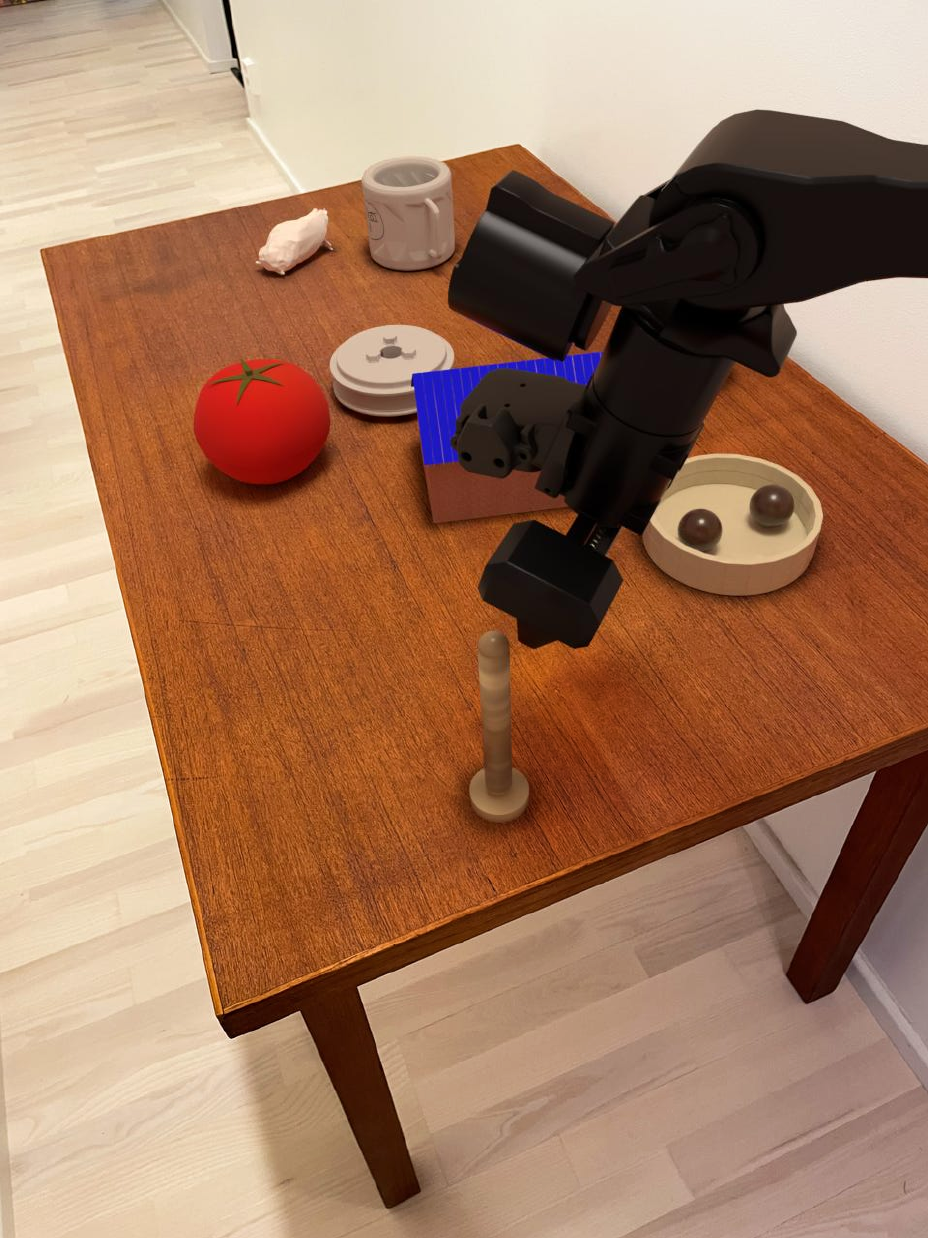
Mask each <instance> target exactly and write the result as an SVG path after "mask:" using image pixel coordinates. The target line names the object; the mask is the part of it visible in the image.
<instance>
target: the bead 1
mask: <svg viewBox="0 0 928 1238" xmlns="http://www.w3.org/2000/svg"><path fill="white" fill-rule="evenodd" d="M722 532H723V529H722V523H721V521H720V519H719V518H718V516H717V515H716V514H715V513H713V512H712V511H710V510H707V509H694V510H691V511H689V512H688V513H686V514H685V515H684V516H683V517H682V518H681V520H680V522H679V524H678V530H677V533H678V538H679V540H680V542H681V543H683V544H684V545H686V546H688V547H691V548H693V549H695V550H698V551H700V552H707V551H709V550H711V549H713V548H714V547H715V546H716V545H717V544H718V543H719V541H720V539H721V537H722Z"/></svg>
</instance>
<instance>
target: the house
mask: <svg viewBox="0 0 928 1238" xmlns="http://www.w3.org/2000/svg"><path fill="white" fill-rule="evenodd" d="M602 353H603V351H596V352H587V353H579V354H571V355H567V356H566V358H565V360H564V361H563V362H561V361H559V360H555V361H553V360H551V359H549V358H547V357H544V358H536V359H535V358H534V359H528V360H527V359H526V360H519V361H510V362H502V363H501V362H500V363H494V364H484V365H474V366H467V367H458V368H453V369H448V370H439V371H431V372H422V373H413V374H412V380H411V387H414V391H415V398H416V407H417V412H416V415H417V417H416V418H417V425H418V436H419V447H420V453H421V459H422V465H423V470H424V471H423V472H424V476H425V481H426V487H427V488H426V489H427V493H428V499H429V505H430V510H431V511H430V512H431V517H432V523H433V524H440V523H448V522H457V521H465V520H472V519H481V518H489V517H497V516H505V515H512V514H520V513H529V512H537V511H544V510H545V511H547V510H552V509H560V508H562V509H563V508H570V507H569V506H568V505H567V504H566V503H565V502H564V496H562V495H560V494H559V496H558V497H557V498H552V497H550V496H548V495H546V494H544V493H542V492H540V491H539V490H537V489H535V485H536V482H537V480H538V477H539V475H540V472H541V471H538V472H523V471H518V470H512V472H511V473H510V474H509V475H508V476H507V477H506V478H504V479H500V478H496V477H491V476H486V475H481V474H476V473H471V472H468V471H466V470H465V469H464V468H463V467H462V466H461V465H460V464H459V461H458V453H457V451H455V450H454V449H453V448H452V447H451V445H450V439H451V438H452V437H453V435H454V434H455V431H456V424H455V421H456V419H457V418H458V417H459V416H460V414H461V411H460V406H461V404H462V402H463V401H464V400H465V399H466V398H467V396H468V395H469V394H470V393H471V391H472V390H473V389H474V388H475V387H476V385H477V384H478V383H479V382H480V381H481V379H482V378H483V377H484V376H485V375H486V374H487V373H488V372H490V371H492V370H495V369H499V368H509V369H516V370H522V371H529V372H535V373H541V374H548V375H554V376H560V377H563V378H565V379H567V380H568V381H570V382H575V383H579V384H583V385H587V384H588V381H589V379H590V377H591V375H592V374H593V372H594V371H595V369H596V368H597V366H598V363H599V361H600V358H601V356H602Z"/></svg>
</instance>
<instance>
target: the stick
mask: <svg viewBox="0 0 928 1238" xmlns="http://www.w3.org/2000/svg"><path fill="white" fill-rule="evenodd" d="M476 648H477V662H478V663H477V665H478V680H479V681H478V683H479V697H480V698H479V699H480V716H481V717H480V718H481V735H482V752H483V768H481V769H480V770H479V771H477V772H476V773H475V774H474V776H473V777H472V779H471V780H470V782H469V787H468V793H469V804H470V806H471V809H472V810H473V811H474V812H475V814H476V815H477V816H479V817H480V818H481V819H483V820H485V821H487V822H491V823H499V824H501V823H508V822H511V821H514V820H516V819H517V818H519V817H520V816H522V814H523V813H524V812H525V811H526V809H527V808H528V805H529V801H530V785H529V781H528V780H527V778H526V776H525V775H524V773H523V772H521V770H519V769H517V768H515V767H513V744H512V743H513V742H512V741H513V740H512V739H513V738H512V737H513V736H512V697H511V695H512V694H511V650H510V649H511V647H510V641H509V638H508V636H506V635H505V634H504V633H503V632H501V631H499V630H488V631H486V632H484V633H483V634H482V635H481V636H480V637H479V639H478V641H477V647H476Z"/></svg>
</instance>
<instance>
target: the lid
mask: <svg viewBox="0 0 928 1238" xmlns="http://www.w3.org/2000/svg"><path fill="white" fill-rule="evenodd" d="M329 360H330V361H329V370H330V374H331V376H332V378H333V384H332V388H333V392H334V395H335V397H336V398H337V400H338V401H339V402H340V403H341V404H342V405H343V406H345V407H346V408H348V409H350V410H352V411H354V412H356V413H361V414H362V415H368V416H374V417H399V416H407V415H411V414H415V413H416V414H417V407H416V398H415V391H414V387H411V380H412V374H413V373H422V372H431V371H439V370H448V369H454V367H453V366H454V364H455V352H454V349H453V346H451V343H450V342H449V341H447V340H446V339H445V338H444V337H442V336H440V335H439V334H436V333H435V332H433V331H431V330H429V329H427V328H423V327H421V326H415V325H410V324H388V325H380V326H376V327H371V328H368V329H365V330H362V331H359V332H358V333H356V334H353V335H352V336H351V337H349V338H348V339H347V340H345V341H344V342H343V343H342V344H340V345H339V346H338V348H336V349H335V351H334V352H333V354H332V355H331V358H330V359H329Z"/></svg>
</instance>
